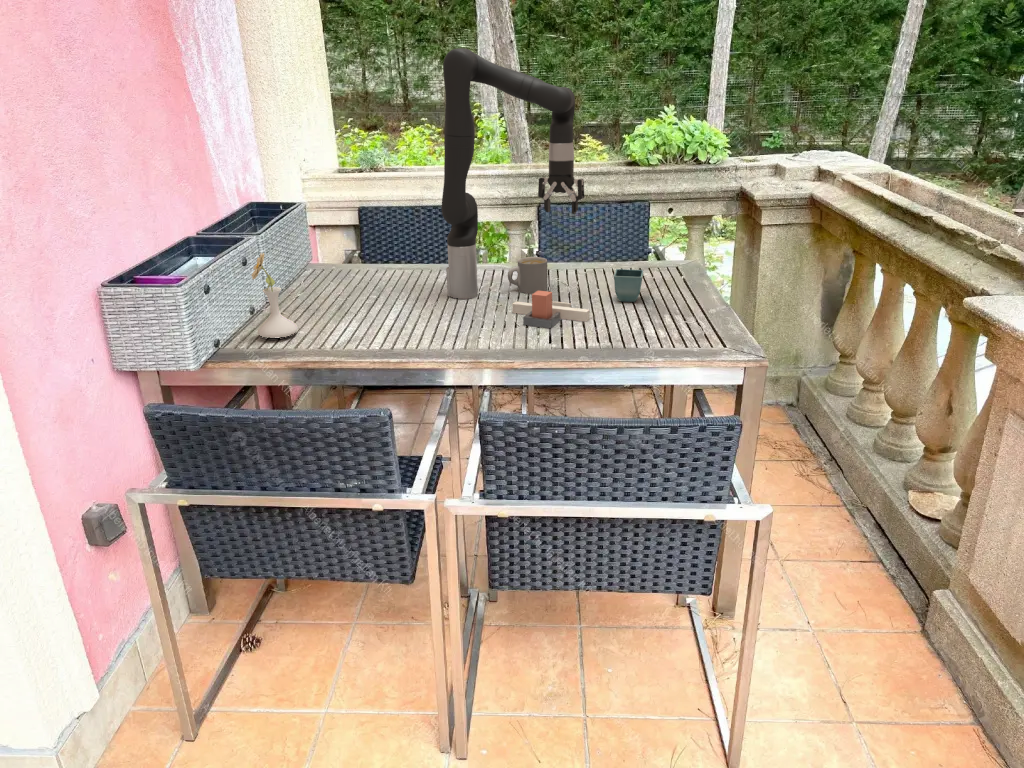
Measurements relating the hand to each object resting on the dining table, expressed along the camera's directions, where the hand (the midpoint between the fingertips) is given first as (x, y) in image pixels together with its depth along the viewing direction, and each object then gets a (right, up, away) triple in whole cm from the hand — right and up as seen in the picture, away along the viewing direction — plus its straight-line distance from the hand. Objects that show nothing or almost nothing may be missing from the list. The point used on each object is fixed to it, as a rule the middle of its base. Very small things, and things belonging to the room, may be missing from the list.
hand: (561, 212), depth 238 cm
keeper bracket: (-6, -35, -10) cm, 36 cm away
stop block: (-6, -35, -9) cm, 36 cm away
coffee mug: (-10, -21, +23) cm, 33 cm away
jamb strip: (-2, -31, 0) cm, 31 cm away
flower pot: (+22, -26, +10) cm, 36 cm away
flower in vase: (-82, -40, -17) cm, 93 cm away
